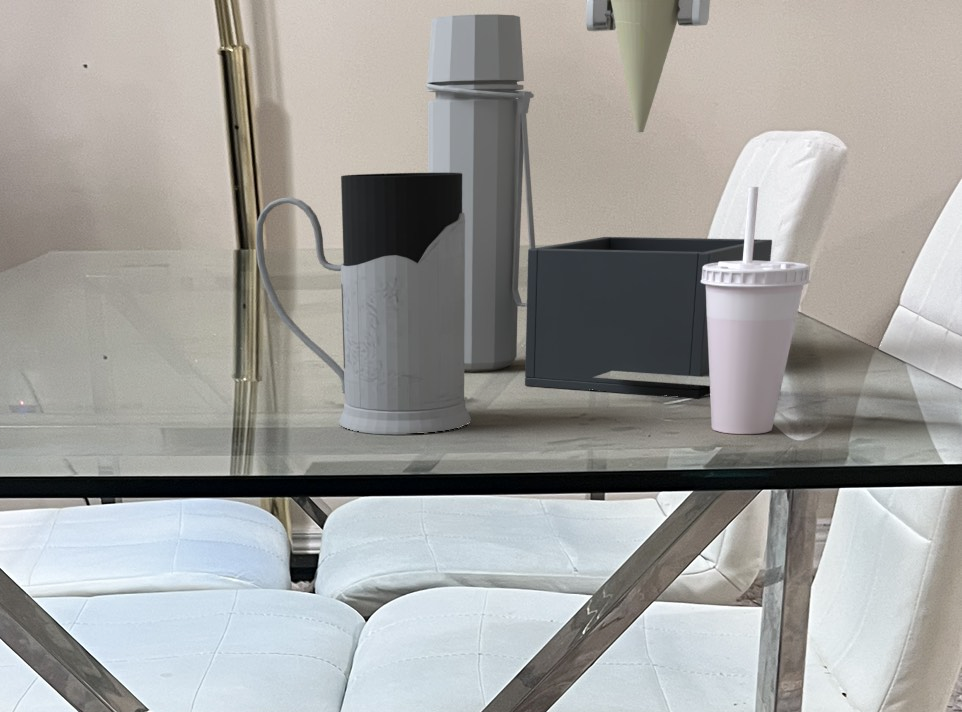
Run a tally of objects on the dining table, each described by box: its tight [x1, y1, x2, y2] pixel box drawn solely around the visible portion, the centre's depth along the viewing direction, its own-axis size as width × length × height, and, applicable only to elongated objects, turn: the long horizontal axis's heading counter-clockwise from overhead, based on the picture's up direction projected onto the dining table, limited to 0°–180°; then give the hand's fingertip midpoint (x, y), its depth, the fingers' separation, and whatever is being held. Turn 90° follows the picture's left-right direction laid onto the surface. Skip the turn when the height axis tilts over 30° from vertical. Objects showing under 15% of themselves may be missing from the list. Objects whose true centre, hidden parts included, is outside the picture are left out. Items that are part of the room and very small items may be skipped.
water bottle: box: [425, 13, 536, 373], centre depth 108 cm, size 9×8×25 cm
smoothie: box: [701, 186, 811, 435], centre depth 85 cm, size 6×6×14 cm
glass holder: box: [254, 172, 472, 435], centre depth 90 cm, size 9×14×15 cm, turn 73°
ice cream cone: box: [611, 0, 680, 133], centre depth 90 cm, size 5×5×15 cm
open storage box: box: [524, 236, 773, 400], centre depth 105 cm, size 14×14×10 cm
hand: (645, 28), depth 91 cm, fingers closed on ice cream cone, 5 cm apart
